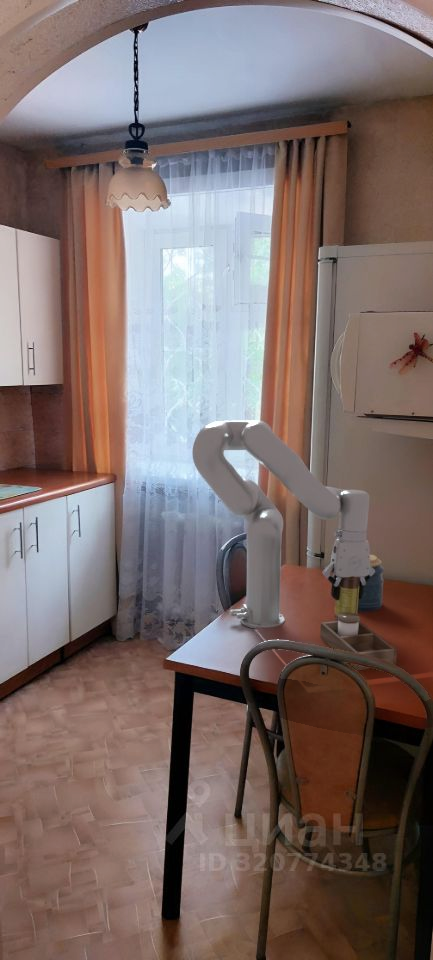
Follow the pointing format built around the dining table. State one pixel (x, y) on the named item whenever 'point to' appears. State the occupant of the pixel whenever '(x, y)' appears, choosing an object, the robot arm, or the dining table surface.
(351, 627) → the spice jar
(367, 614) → the dining table surface
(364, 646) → the caddy
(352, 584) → the sauce bottle
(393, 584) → the dining table surface
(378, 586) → the canister
